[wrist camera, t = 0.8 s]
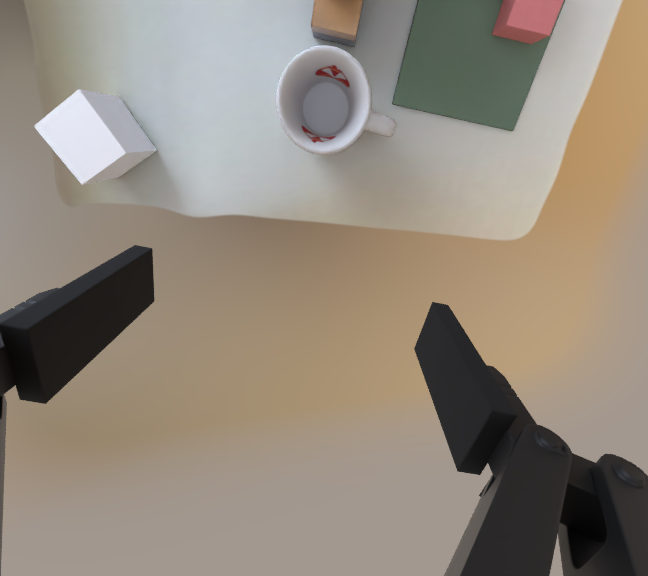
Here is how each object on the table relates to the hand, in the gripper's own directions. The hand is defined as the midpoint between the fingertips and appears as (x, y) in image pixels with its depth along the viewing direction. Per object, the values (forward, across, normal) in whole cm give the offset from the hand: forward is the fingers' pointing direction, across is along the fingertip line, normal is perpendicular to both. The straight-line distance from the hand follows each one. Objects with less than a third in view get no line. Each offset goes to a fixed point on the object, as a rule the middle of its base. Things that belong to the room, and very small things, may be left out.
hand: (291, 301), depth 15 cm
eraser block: (+25, +15, +20) cm, 36 cm away
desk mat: (+26, +12, +20) cm, 35 cm away
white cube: (+26, -23, +2) cm, 34 cm away
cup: (+26, 0, +9) cm, 27 cm away
